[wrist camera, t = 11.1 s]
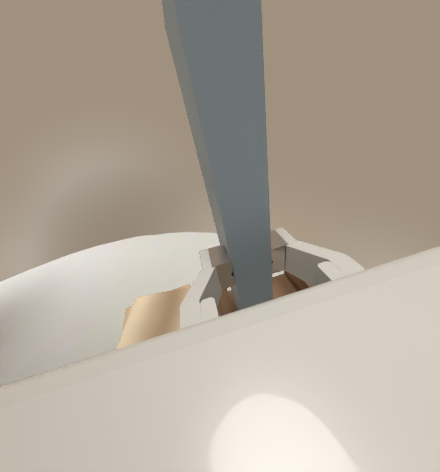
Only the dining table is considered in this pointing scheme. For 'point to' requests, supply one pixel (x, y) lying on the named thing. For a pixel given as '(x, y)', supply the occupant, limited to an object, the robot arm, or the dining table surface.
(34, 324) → the dining table surface
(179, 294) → the offcut stack
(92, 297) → the dining table surface
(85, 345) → the dining table surface
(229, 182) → the tall sheet
